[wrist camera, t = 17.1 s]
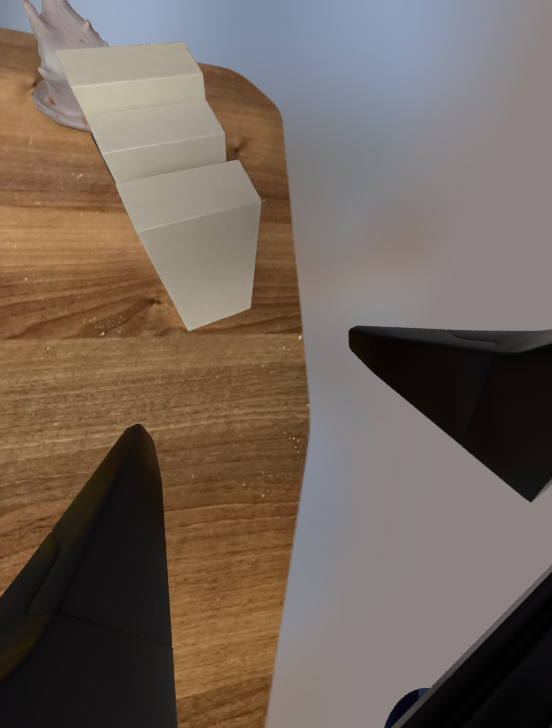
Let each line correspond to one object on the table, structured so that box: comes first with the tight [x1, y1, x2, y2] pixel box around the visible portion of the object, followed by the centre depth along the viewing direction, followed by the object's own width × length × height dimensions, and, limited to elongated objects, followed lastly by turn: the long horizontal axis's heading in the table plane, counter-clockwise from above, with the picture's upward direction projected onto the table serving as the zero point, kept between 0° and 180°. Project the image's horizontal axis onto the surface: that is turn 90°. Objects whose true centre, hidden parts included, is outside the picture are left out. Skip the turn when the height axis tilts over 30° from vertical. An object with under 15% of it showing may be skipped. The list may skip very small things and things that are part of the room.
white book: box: [116, 160, 262, 331], centre depth 18 cm, size 3×6×12 cm, turn 116°
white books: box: [55, 42, 226, 184], centre depth 18 cm, size 6×7×13 cm
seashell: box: [23, 0, 108, 132], centre depth 23 cm, size 10×12×9 cm
